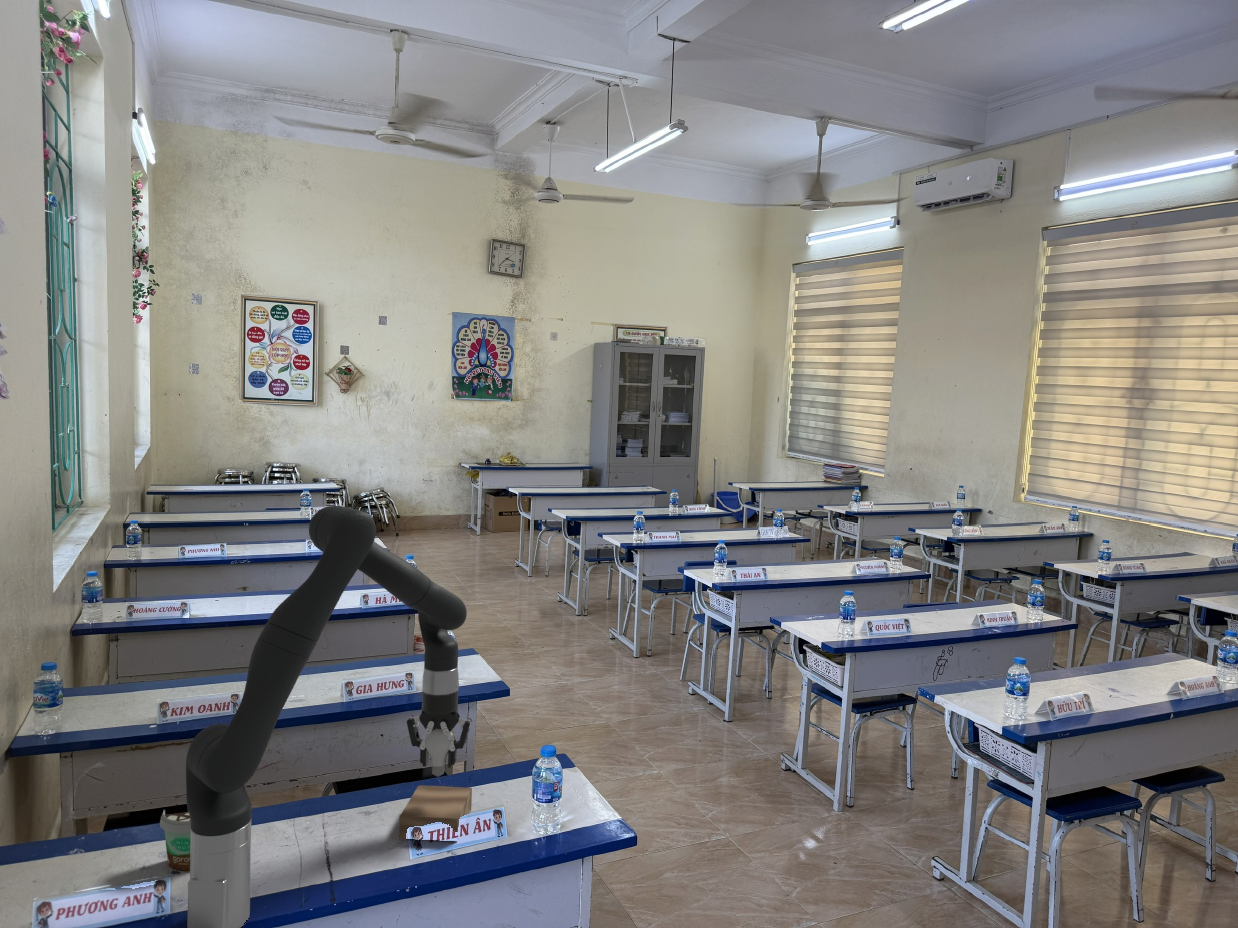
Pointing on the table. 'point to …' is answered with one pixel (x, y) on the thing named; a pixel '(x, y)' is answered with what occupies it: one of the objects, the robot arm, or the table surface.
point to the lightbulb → (438, 750)
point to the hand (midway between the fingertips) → (438, 765)
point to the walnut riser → (435, 807)
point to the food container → (177, 839)
